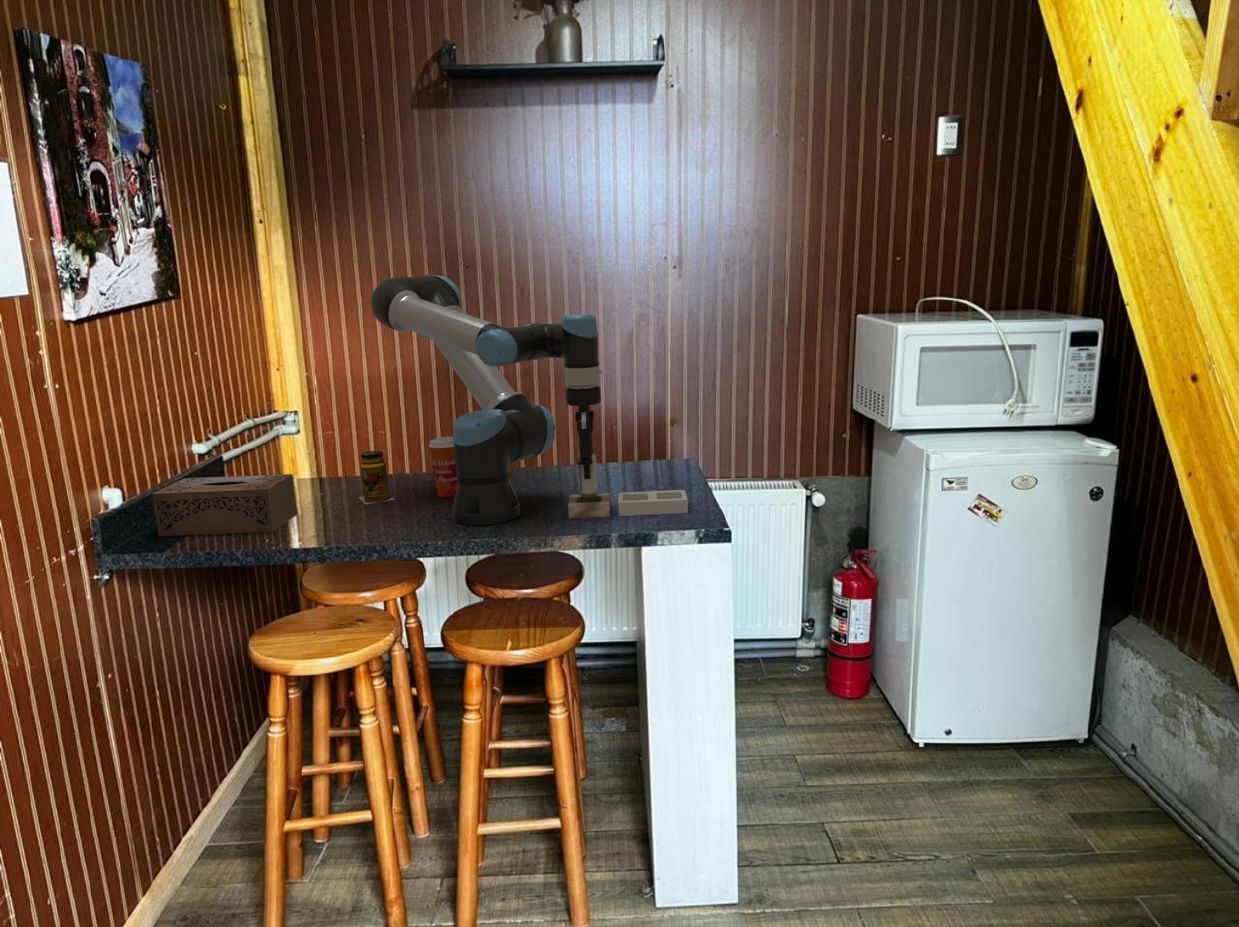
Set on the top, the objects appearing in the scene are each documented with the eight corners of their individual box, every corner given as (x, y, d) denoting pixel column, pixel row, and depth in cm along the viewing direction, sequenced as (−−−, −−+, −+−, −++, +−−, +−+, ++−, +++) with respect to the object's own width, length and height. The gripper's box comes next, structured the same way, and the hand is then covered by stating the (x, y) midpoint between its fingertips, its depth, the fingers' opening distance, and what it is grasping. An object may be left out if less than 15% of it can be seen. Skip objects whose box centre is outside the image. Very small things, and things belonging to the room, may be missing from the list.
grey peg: (586, 515, 200) (583, 458, 198) (577, 511, 204) (574, 455, 201) (602, 512, 202) (599, 455, 199) (593, 508, 206) (590, 452, 203)
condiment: (365, 505, 219) (360, 456, 216) (358, 498, 226) (353, 451, 224) (395, 500, 222) (390, 452, 220) (387, 493, 229) (382, 447, 227)
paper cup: (428, 498, 222) (422, 442, 219) (441, 490, 230) (436, 436, 227) (457, 498, 220) (452, 442, 217) (470, 491, 228) (465, 436, 225)
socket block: (568, 518, 199) (568, 505, 198) (571, 507, 207) (570, 495, 207) (609, 516, 199) (609, 503, 198) (610, 505, 207) (609, 493, 207)
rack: (618, 516, 199) (618, 503, 198) (618, 505, 207) (618, 492, 207) (688, 513, 198) (687, 499, 198) (685, 502, 207) (684, 489, 207)
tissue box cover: (297, 515, 214) (292, 473, 212) (273, 532, 200) (267, 489, 197) (190, 519, 215) (184, 478, 212) (159, 537, 201) (151, 493, 198)
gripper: (599, 390, 188) (604, 499, 194) (601, 380, 205) (606, 480, 210) (563, 392, 189) (569, 500, 194) (568, 381, 205) (573, 481, 210)
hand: (588, 489), depth 202 cm, fingers closed on grey peg, 4 cm apart
